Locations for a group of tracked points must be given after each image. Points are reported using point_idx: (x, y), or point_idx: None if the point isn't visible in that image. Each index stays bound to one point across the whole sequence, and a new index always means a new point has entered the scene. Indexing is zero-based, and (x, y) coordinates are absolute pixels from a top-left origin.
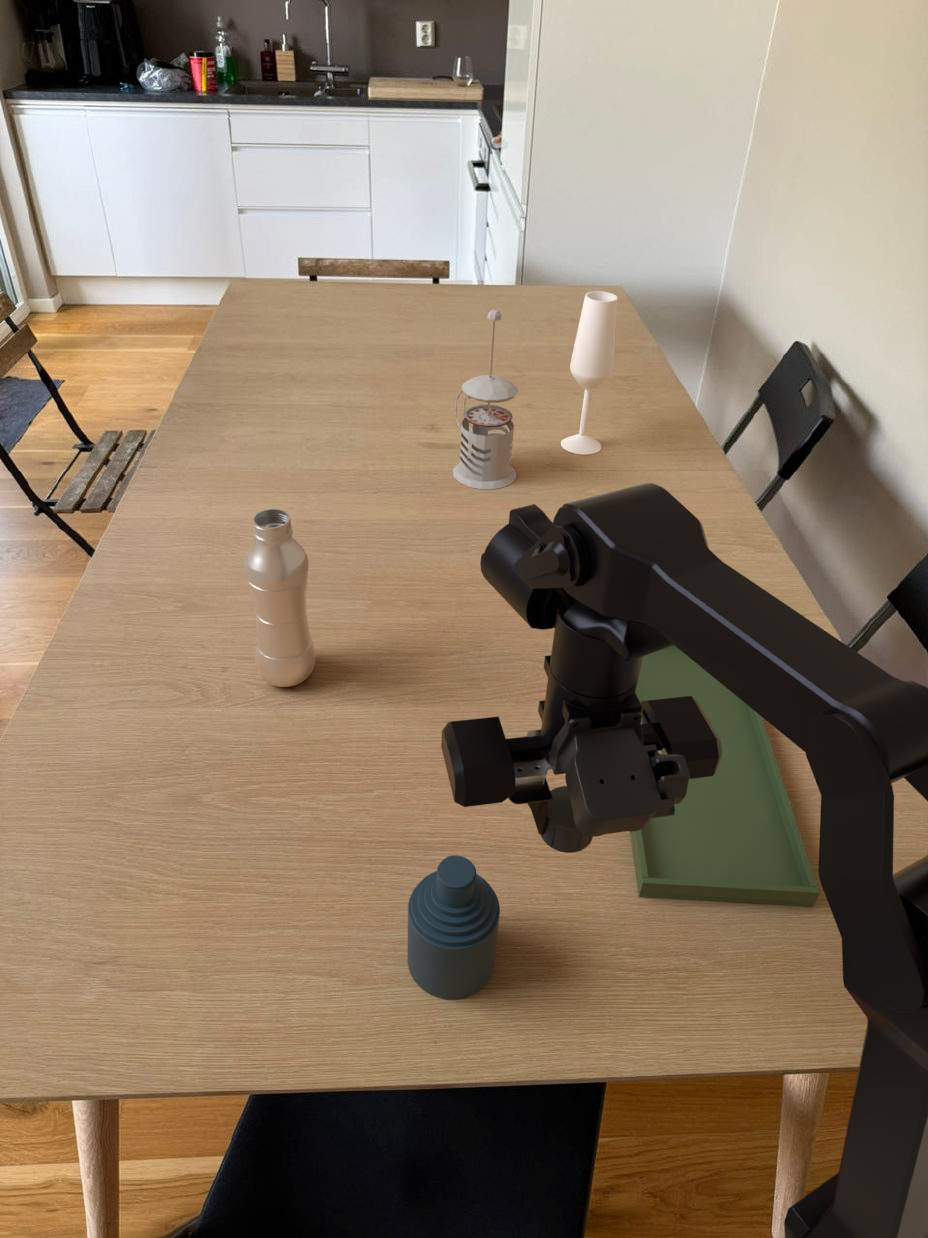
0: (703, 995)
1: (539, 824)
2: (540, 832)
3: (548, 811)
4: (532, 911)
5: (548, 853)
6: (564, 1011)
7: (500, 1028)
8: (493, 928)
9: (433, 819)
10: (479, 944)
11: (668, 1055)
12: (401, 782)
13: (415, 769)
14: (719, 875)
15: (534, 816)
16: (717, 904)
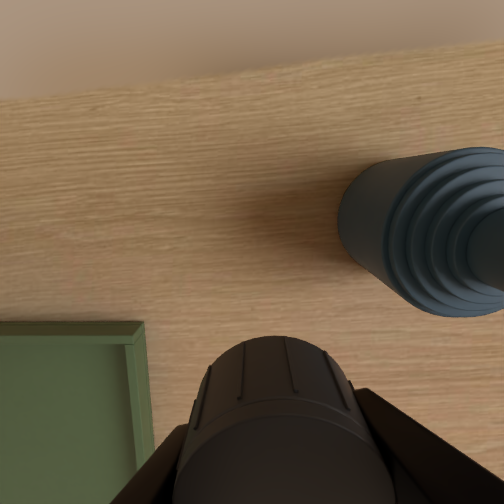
0: (66, 188)
1: (404, 424)
2: (368, 394)
3: (377, 486)
4: (283, 292)
5: None
6: (248, 153)
7: (332, 123)
8: (396, 198)
9: (407, 414)
10: (423, 164)
11: (115, 100)
12: None
13: None
14: (35, 357)
15: (484, 470)
16: (42, 317)
